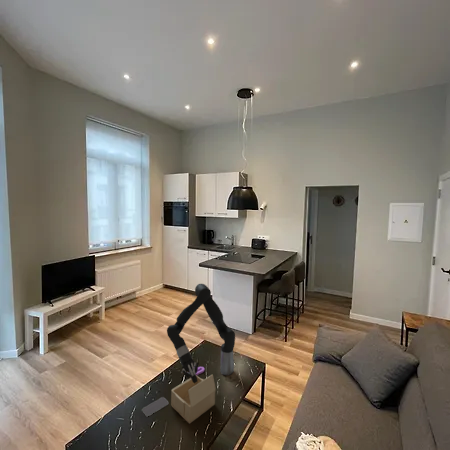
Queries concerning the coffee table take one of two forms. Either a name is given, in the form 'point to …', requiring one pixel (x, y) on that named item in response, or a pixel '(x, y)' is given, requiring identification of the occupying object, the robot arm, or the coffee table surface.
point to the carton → (182, 401)
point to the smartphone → (155, 406)
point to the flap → (201, 390)
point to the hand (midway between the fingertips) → (195, 382)
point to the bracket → (200, 370)
